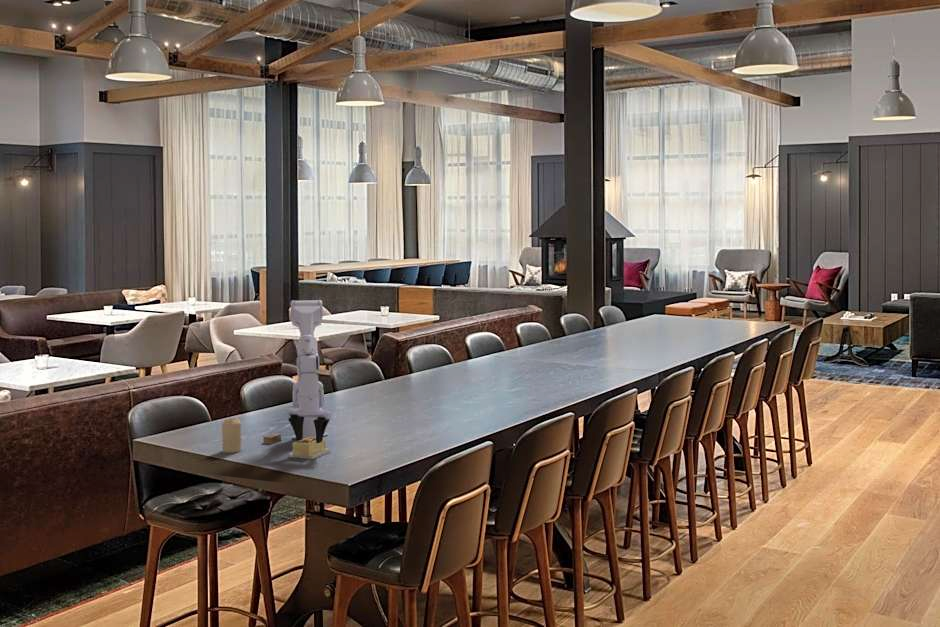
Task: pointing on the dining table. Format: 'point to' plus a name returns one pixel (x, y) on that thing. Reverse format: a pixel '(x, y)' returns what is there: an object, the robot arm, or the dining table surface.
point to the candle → (231, 435)
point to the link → (308, 446)
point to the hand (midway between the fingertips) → (309, 441)
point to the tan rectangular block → (272, 438)
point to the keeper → (311, 454)
